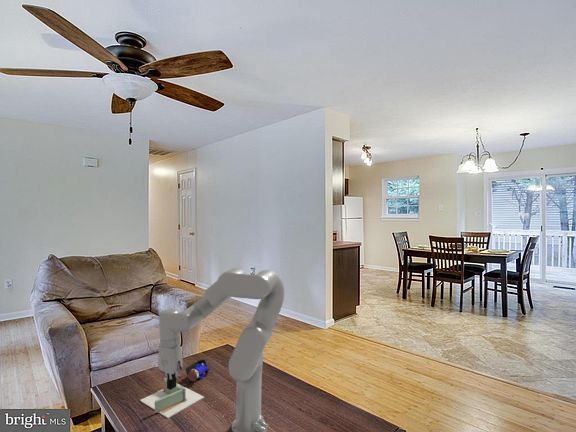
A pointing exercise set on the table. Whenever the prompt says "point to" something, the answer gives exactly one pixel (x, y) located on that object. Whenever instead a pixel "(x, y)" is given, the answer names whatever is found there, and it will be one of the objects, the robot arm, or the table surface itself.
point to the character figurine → (197, 370)
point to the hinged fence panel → (170, 400)
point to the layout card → (174, 409)
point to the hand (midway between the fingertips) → (171, 387)
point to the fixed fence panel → (171, 389)
